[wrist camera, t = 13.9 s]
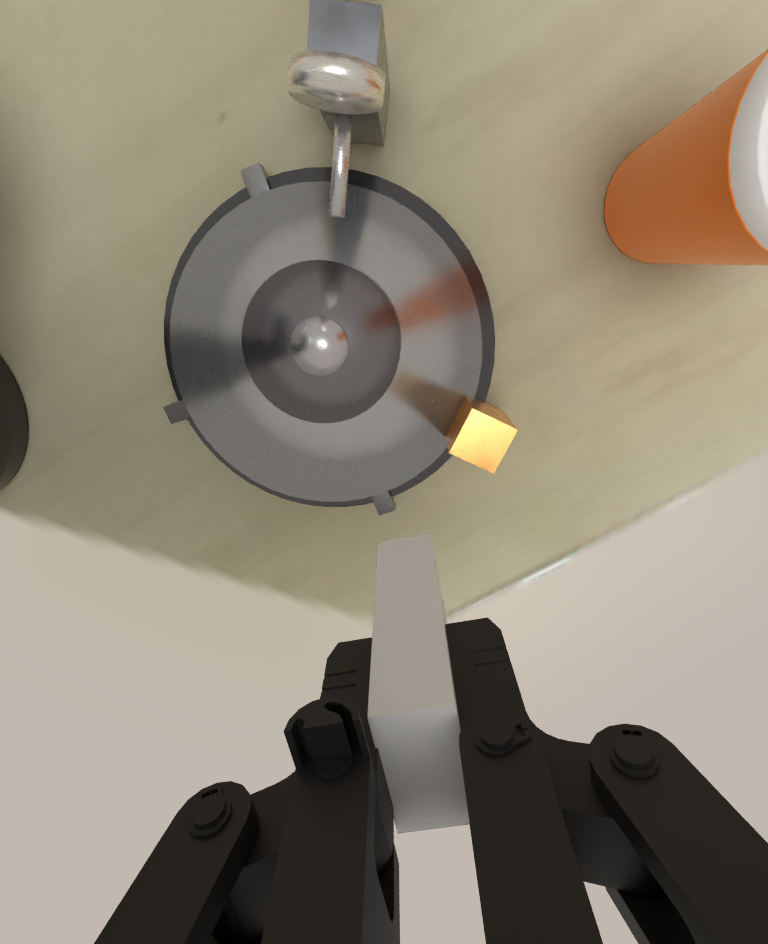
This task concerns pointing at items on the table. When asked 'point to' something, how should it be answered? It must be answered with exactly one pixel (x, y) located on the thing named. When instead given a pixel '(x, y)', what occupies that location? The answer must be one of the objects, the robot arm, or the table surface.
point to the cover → (321, 341)
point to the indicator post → (344, 81)
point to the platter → (419, 369)
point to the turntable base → (420, 210)
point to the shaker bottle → (700, 181)
